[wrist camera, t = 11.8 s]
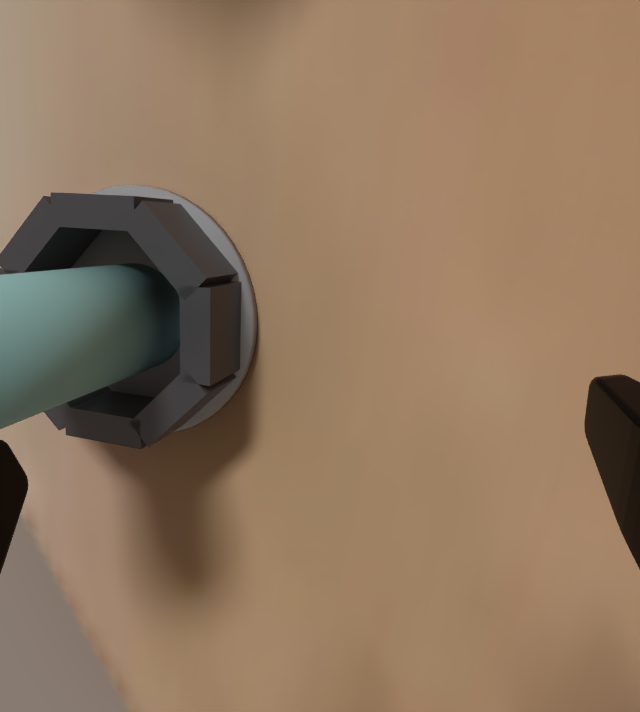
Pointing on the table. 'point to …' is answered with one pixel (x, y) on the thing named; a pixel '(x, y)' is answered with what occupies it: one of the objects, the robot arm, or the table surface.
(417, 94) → the table surface
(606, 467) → the robot arm
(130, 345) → the plug
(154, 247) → the collar
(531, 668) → the table surface
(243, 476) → the table surface
